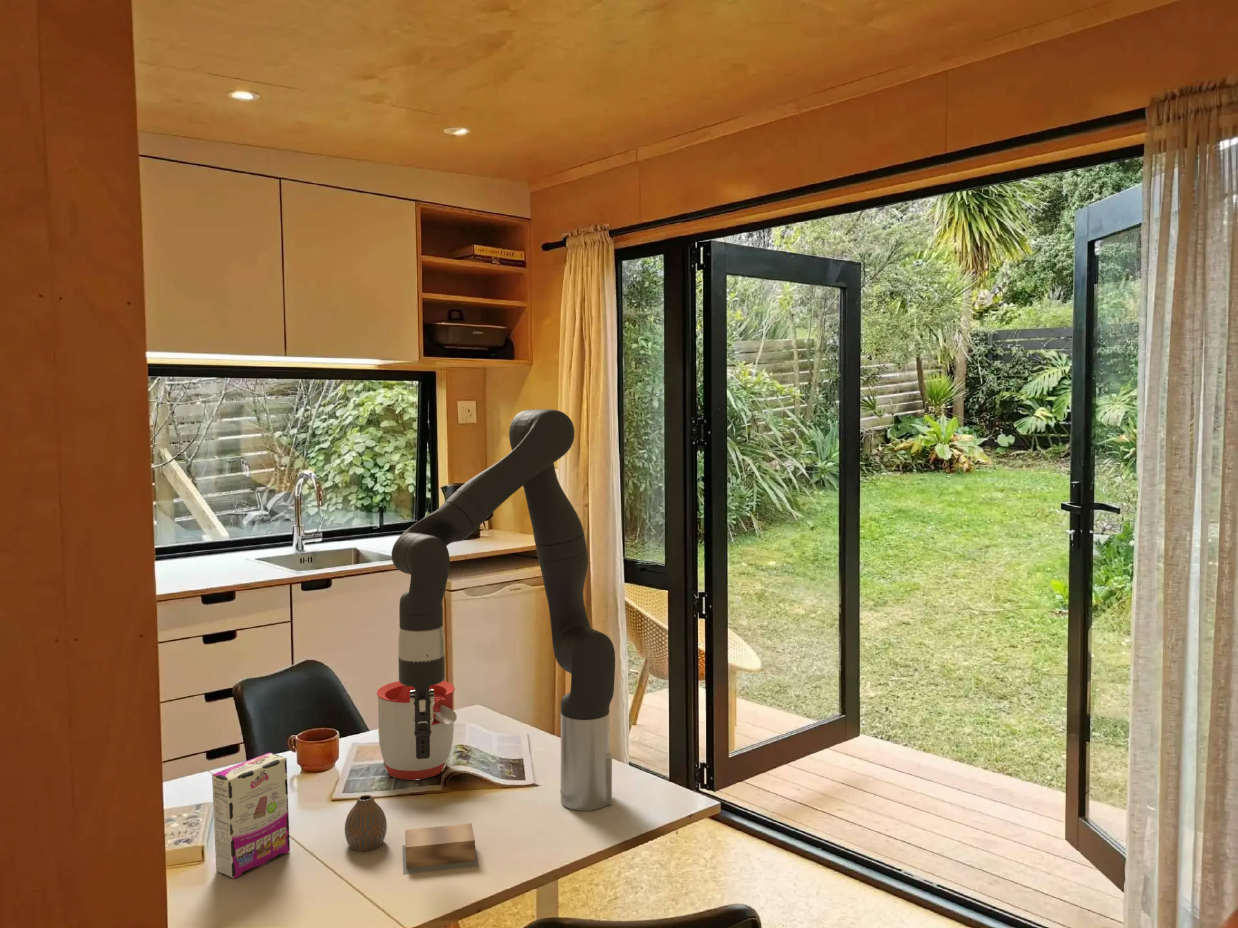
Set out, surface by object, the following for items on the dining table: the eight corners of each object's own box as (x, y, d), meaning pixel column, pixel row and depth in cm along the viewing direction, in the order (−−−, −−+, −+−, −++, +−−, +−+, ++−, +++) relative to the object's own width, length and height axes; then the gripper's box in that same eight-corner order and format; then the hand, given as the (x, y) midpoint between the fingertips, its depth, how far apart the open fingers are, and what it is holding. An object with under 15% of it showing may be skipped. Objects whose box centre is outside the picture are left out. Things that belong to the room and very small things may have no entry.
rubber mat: (473, 841, 164) (473, 838, 164) (479, 869, 155) (479, 865, 155) (402, 848, 162) (402, 845, 161) (403, 877, 152) (403, 873, 152)
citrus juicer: (425, 793, 184) (424, 692, 183) (361, 774, 193) (359, 678, 192) (477, 767, 198) (477, 672, 196) (415, 751, 207) (414, 660, 205)
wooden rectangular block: (471, 843, 162) (471, 823, 162) (475, 860, 156) (474, 839, 156) (405, 849, 160) (405, 829, 160) (406, 868, 154) (406, 847, 153)
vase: (375, 859, 158) (375, 807, 157) (337, 854, 159) (336, 803, 159) (393, 840, 165) (393, 790, 164) (356, 836, 166) (356, 787, 166)
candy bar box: (271, 844, 163) (269, 750, 162) (290, 852, 160) (289, 756, 159) (213, 872, 153) (210, 772, 152) (232, 880, 151) (230, 779, 150)
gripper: (445, 663, 152) (447, 762, 153) (443, 641, 166) (444, 732, 167) (397, 666, 150) (399, 766, 151) (399, 643, 164) (400, 735, 165)
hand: (422, 748), depth 159 cm, fingers open, 8 cm apart
